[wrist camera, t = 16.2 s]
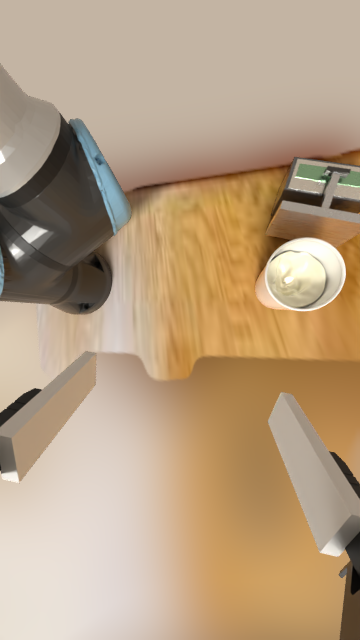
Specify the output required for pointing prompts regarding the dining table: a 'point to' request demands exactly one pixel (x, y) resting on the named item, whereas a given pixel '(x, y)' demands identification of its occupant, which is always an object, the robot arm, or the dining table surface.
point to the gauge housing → (319, 185)
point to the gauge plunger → (316, 217)
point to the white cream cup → (301, 276)
